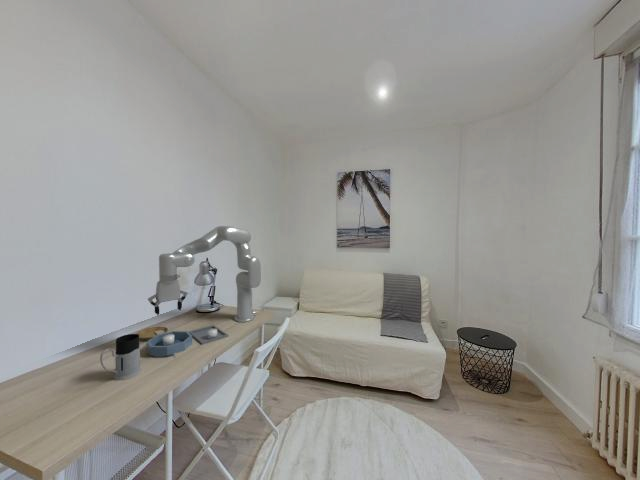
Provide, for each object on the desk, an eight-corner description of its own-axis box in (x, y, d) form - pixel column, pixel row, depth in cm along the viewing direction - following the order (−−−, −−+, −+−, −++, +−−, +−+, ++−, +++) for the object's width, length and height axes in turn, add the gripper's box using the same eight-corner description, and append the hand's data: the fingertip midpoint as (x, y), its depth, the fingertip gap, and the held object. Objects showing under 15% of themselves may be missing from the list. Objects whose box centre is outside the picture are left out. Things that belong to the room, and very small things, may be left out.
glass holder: (146, 369, 104) (146, 334, 103) (109, 390, 90) (109, 350, 90) (130, 366, 106) (130, 332, 106) (92, 386, 93) (92, 346, 92)
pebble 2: (214, 334, 137) (214, 327, 137) (218, 337, 134) (218, 330, 134) (205, 337, 134) (205, 330, 134) (209, 340, 130) (209, 333, 130)
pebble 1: (172, 340, 129) (172, 333, 129) (175, 344, 126) (175, 336, 126) (161, 343, 126) (161, 336, 125) (164, 347, 122) (164, 339, 122)
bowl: (183, 337, 136) (183, 328, 136) (196, 348, 123) (196, 338, 123) (144, 347, 123) (144, 338, 123) (153, 361, 110) (153, 351, 110)
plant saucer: (152, 343, 128) (152, 338, 127) (128, 340, 130) (128, 335, 130) (174, 332, 142) (174, 328, 142) (152, 329, 145) (152, 325, 145)
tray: (213, 327, 149) (213, 324, 149) (228, 337, 136) (228, 334, 136) (188, 334, 139) (188, 331, 139) (202, 346, 126) (202, 342, 126)
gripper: (184, 275, 133) (184, 306, 134) (145, 279, 121) (146, 314, 121) (189, 277, 128) (189, 309, 129) (149, 282, 115) (150, 318, 116)
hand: (168, 311), depth 125 cm, fingers open, 9 cm apart
